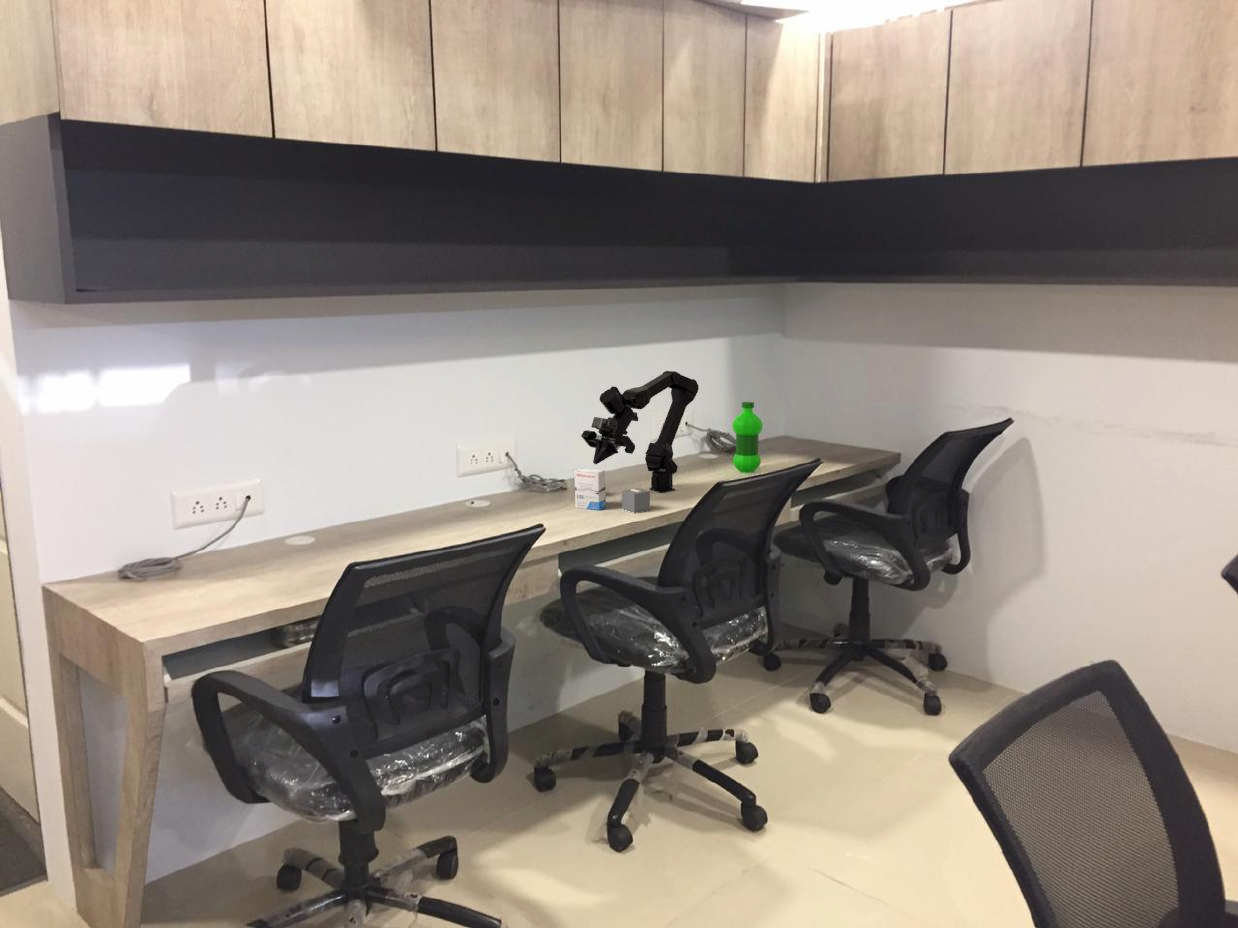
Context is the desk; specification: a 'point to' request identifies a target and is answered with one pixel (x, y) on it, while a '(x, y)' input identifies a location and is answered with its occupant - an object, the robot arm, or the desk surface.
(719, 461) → the desk surface
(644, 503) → the marked block 2
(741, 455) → the plastic bottle
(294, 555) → the desk surface
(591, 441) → the robot arm
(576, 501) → the ink box
